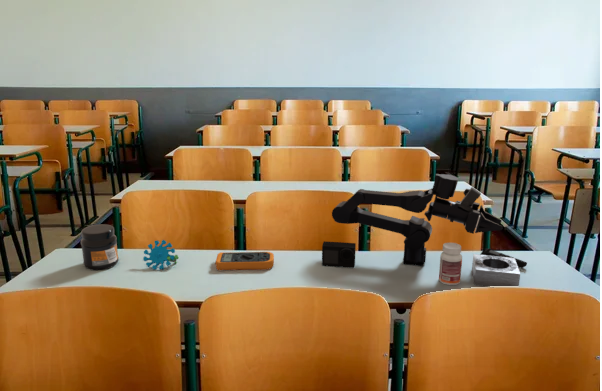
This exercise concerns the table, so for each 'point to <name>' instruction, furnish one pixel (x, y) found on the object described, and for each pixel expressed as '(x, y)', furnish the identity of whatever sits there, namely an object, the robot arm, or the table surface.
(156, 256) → the toy virus model
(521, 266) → the electric trimmer
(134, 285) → the table surface
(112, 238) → the supplement container
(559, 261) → the table surface
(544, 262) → the table surface
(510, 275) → the grey square holder
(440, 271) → the pill bottle
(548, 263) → the table surface
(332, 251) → the digital camera
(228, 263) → the multimeter
